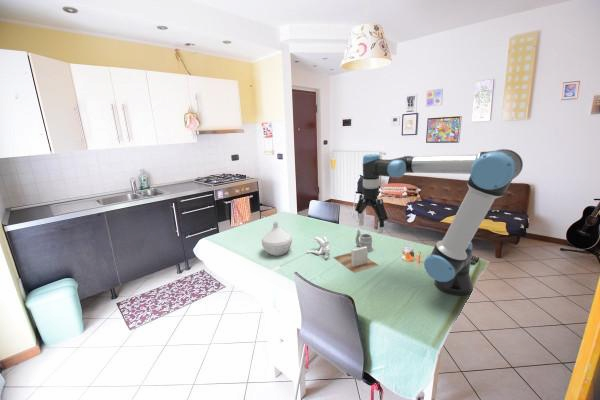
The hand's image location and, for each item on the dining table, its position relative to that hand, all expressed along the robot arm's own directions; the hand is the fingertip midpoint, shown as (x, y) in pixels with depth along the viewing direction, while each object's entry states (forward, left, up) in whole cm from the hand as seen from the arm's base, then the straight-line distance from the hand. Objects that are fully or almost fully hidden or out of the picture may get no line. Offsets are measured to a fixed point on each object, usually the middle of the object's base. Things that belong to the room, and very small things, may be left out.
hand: (370, 229), depth 138 cm
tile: (+6, +2, -22) cm, 23 cm away
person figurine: (+29, +11, -23) cm, 39 cm away
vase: (+45, +34, -23) cm, 61 cm away
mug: (+21, -12, -23) cm, 34 cm away
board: (+10, +2, -23) cm, 25 cm away
